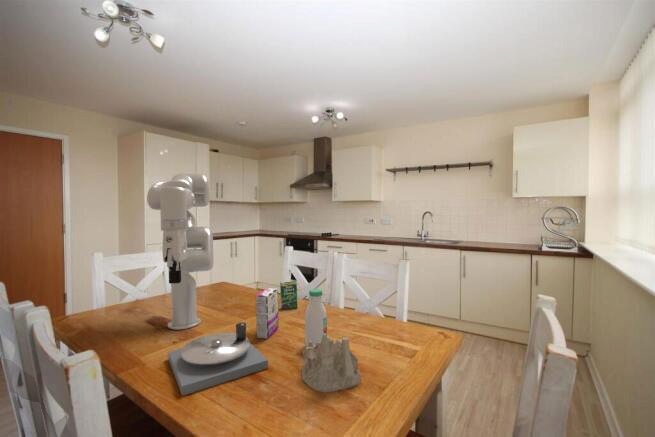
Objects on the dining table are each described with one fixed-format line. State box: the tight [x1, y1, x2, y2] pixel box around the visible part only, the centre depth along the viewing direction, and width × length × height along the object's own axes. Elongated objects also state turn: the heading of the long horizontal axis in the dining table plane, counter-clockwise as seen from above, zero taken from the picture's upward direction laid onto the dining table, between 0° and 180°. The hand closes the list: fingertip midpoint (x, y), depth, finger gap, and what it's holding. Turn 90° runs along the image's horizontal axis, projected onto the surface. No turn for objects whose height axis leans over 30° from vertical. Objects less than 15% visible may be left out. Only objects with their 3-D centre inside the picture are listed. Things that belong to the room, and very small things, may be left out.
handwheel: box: [181, 321, 250, 366], centre depth 96 cm, size 20×20×7 cm
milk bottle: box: [304, 288, 328, 348], centre depth 107 cm, size 8×8×20 cm
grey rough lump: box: [301, 333, 362, 393], centre depth 89 cm, size 16×16×15 cm
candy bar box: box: [255, 287, 279, 340], centre depth 119 cm, size 11×5×16 cm, turn 168°
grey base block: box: [167, 341, 269, 397], centre depth 96 cm, size 24×24×4 cm
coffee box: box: [279, 280, 298, 311], centre depth 150 cm, size 8×3×13 cm, turn 103°
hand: (175, 282), depth 98 cm, fingers closed
